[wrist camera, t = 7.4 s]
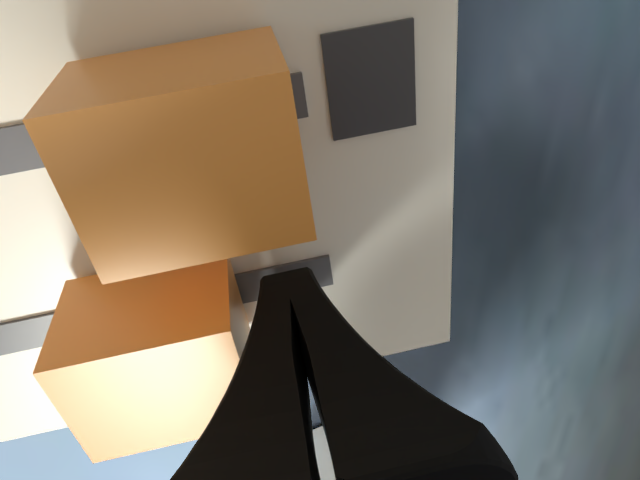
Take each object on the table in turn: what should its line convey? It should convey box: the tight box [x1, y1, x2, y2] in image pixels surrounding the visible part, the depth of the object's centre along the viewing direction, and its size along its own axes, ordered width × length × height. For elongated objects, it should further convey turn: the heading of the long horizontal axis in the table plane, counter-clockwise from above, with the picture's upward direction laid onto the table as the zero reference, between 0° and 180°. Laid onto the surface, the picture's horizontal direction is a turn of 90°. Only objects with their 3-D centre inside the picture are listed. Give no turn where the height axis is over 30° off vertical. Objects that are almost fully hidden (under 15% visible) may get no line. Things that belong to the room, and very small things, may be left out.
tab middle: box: [22, 26, 317, 285], centre depth 10 cm, size 4×3×3 cm
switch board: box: [0, 0, 458, 442], centre depth 12 cm, size 20×18×2 cm
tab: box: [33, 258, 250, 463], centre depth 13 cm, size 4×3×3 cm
